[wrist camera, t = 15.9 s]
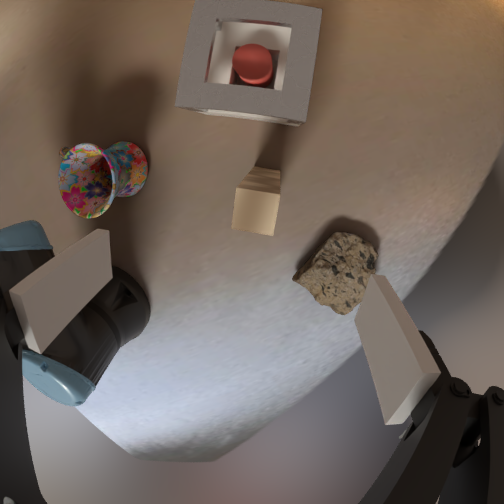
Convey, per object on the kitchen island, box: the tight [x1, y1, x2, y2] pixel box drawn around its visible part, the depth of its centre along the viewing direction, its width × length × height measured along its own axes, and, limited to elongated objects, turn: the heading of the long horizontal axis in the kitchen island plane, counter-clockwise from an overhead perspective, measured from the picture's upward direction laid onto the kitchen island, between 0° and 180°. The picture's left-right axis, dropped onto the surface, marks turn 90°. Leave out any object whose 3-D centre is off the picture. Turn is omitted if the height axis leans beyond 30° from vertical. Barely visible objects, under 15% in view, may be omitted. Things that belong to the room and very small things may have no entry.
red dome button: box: [232, 44, 273, 88], centre depth 27 cm, size 4×4×8 cm
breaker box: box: [195, 22, 299, 127], centre depth 30 cm, size 12×12×6 cm
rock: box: [292, 232, 378, 315], centre depth 40 cm, size 11×12×4 cm
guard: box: [175, 0, 322, 125], centre depth 24 cm, size 12×12×6 cm
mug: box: [58, 141, 148, 218], centre depth 34 cm, size 12×9×11 cm
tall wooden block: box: [231, 166, 280, 236], centre depth 30 cm, size 4×4×16 cm
